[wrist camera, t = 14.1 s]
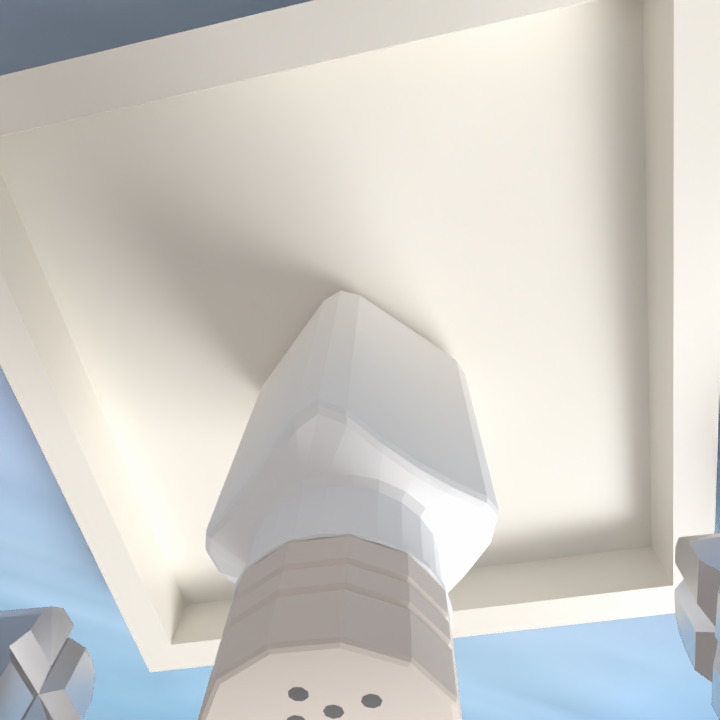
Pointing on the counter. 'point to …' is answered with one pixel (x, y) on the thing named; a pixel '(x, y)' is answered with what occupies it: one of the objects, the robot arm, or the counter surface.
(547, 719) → the counter surface
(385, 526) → the salt shaker
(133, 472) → the tray
